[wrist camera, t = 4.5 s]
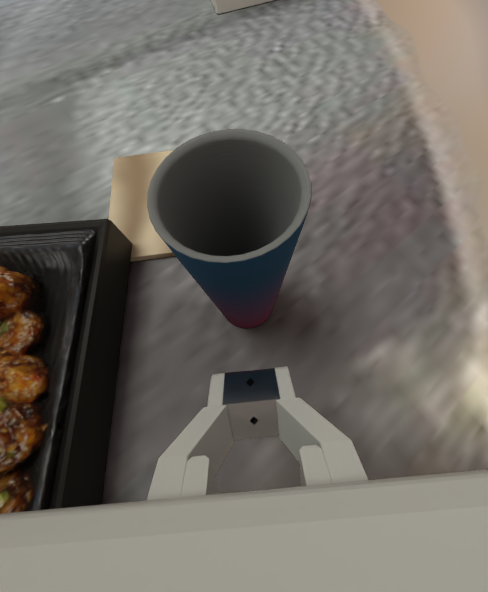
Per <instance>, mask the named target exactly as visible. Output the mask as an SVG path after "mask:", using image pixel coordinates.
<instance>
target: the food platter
mask: <svg viewBox="0 0 488 592" xmlns="http://www.w3.org/2000/svg"><path fill="white" fill-rule="evenodd" d="M131 252H132V243H131V242H130V240H129V239H128V238H127V237H126V236H125V235H124V234H123V233H122V232H121V231H120V230H119V229H118V228H117V226H116V225H115V224H114V223H113V222H112V221H111V220H108V219H100V220H85V221H71V222H57V223H43V224H28V225H14V226H0V514H3V513H14V512H25V511H36V510H47V509H58V508H68V507H79V506H90V505H101V503H102V495H103V486H104V478H105V469H106V461H107V453H108V444H109V436H110V428H111V419H112V411H113V402H114V394H115V386H116V377H117V369H118V361H119V352H120V344H121V335H122V327H123V319H124V310H125V302H126V294H127V285H128V277H129V268H130V260H131Z"/></svg>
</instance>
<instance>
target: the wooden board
mask: <svg viewBox="0 0 488 592" xmlns="http://www.w3.org/2000/svg"><path fill="white" fill-rule="evenodd" d="M172 151H173V150H171V151H164V152H156V153H149V154H141V155H134V156H126V157H119V158H114V169H113V179H112V190H111V200H110V211H109V220H111V221H112V222H113V223H114V224H115V225H116V226H117V228H118V229H119V230H120V231H121V232H122V233H123V234H124V235H125V236H126V237H127V238H128V239H129V240H130V242H131V243H132V252H131V260H130V262H132V261H140V260H148V259H156V258H164V257H172V256H175V254H174V253H173V252H172V251H171V250H170V248H169V247H168V246H167V245H166V243H165V242H164V241H163V240H162V238H161V237H160V236H159V235H158V234H157V232H156V231H155V229H154V227H153V225H152V223H151V221H150V218H149V213H148V209H147V193H148V189H149V185H150V181H151V179H152V177H153V175H154V173H155V171H156V169H157V168H158V166H159V165H160V164H161V163H162V161H163V160H164V159H165V158H166V157H167V156H168V155H169V154H170V153H171V152H172Z"/></svg>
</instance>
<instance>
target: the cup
mask: <svg viewBox="0 0 488 592" xmlns="http://www.w3.org/2000/svg"><path fill="white" fill-rule="evenodd" d="M310 202H311V181H310V177H309V173H308V170H307V169H306V167H305V165H304V163H303V161H302V159H301V158H300V157H299V156H298V155H297V154H296V152H295V151H294V150H293V149H291V148H290V147H289V146H288V145H286V144H285V143H284V142H282V141H280V140H278V139H276V138H274V137H272V136H270V135H267V134H264V133H261V132H258V131H251V130H245V129H227V130H219V131H213V132H210V133H206V134H203V135H200V136H198V137H195V138H193V139H191V140H189V141H187V142H185V143H184V144H182V145H180V146H179V147H177V148H176V149H175V150H173V151H172V152H171V153H170V154H169V155H168V156H167V157H166V158H165V159H164V160H163V161H162V163H161V164H160V165H159V166H158V168H157V169H156V171H155V173H154V175H153V177H152V179H151V181H150V185H149V189H148V193H147V209H148V213H149V218H150V221H151V223H152V225H153V227H154V229H155V231H156V232H157V234H158V235H159V236H160V237H161V238H162V240H163V241H164V242H165V243H166V245H167V246H168V247H169V248H170V250H171V251H172V252H173V253H174V254H175V256H176V257H177V258H178V259H179V261H180V262H181V263H182V264H183V266H184V267H185V268H186V269H187V270H188V272H189V273H190V274H191V275H192V277H193V278H194V279H195V280H196V282H197V283H198V284H199V285H200V287H201V288H202V289H203V290H204V291H205V293H206V294H207V295H208V296H209V298H210V299H211V300H212V301H213V303H214V304H215V305H216V306H217V307H218V309H219V310H220V311H221V312H222V314H223V315H224V316H225V317H226V318H227V320H228V321H229V322H231V323H232V324H233V325H235V326H238V327H241V328H253V327H256V326H258V325H260V324H262V323H263V322H265V321H266V320H267V319H268V317H269V316H270V314H271V312H272V310H273V307H274V304H275V301H276V299H277V296H278V293H279V290H280V288H281V285H282V282H283V279H284V276H285V274H286V271H287V268H288V265H289V263H290V260H291V257H292V254H293V252H294V249H295V246H296V243H297V241H298V238H299V235H300V232H301V230H302V227H303V224H304V221H305V218H306V216H307V213H308V209H309V206H310Z"/></svg>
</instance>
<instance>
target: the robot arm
mask: <svg viewBox="0 0 488 592" xmlns="http://www.w3.org/2000/svg"><path fill="white" fill-rule="evenodd" d="M277 436H279V437H280V439H281V440H282V441H283V443H284V444H285V445H286V446H287V448H288V449H289V450H290V451H291V453H292V454H293V455H294V457H295V458H296V459H297V460H298V462H299V463H300V480H301V486H299V487H288V488H278V489H267V490H256V491H244V492H233V493H222V494H219V493H218V490H217V486H216V482H215V479H214V478H215V476H216V474H217V472H218V470H219V469H220V467H221V465H222V463H223V461H224V460H225V458H226V456H227V454H228V452H229V450H230V449H231V447H232V445H233V443H234V441H236V440H244V439H252V438H256V437H257V438H262V437H277ZM0 592H488V469H484V470H473V471H462V472H451V473H440V474H429V475H418V476H407V477H396V478H385V479H374V480H368V478H367V476H366V473H365V471H364V469H363V466H362V464H361V462H360V459H359V457H358V455H357V452H356V450H355V448H354V445H353V443H352V441H351V440H350V439H349V438H348V437H347V436H345V435H344V434H343V433H342V432H341V431H339V430H338V429H337V428H336V427H335V426H333V425H332V424H331V423H330V422H329V421H327V420H326V419H325V418H324V417H323V416H321V415H320V414H319V413H318V412H317V411H315V410H314V409H313V408H312V407H311V406H309V405H308V404H307V403H306V402H305V401H303V400H302V399H301V398H296V396H295V392H294V388H293V385H292V381H291V377H290V373H289V369H288V367H287V366H285V367H277V368H270V369H262V370H253V371H242V372H230V373H220V374H213V375H212V377H211V383H210V390H209V397H208V405H207V407H203V408H202V410H201V411H200V412H199V413H198V414H197V415H196V416H195V418H194V419H193V420H192V421H191V422H190V423H189V424H188V425H187V427H186V428H185V429H184V430H183V431H182V432H181V433H180V435H179V436H178V437H177V438H176V439H175V440H174V441H173V443H172V444H171V445H170V446H169V447H168V448H167V449H166V451H165V452H164V453H163V454H162V455H161V456H160V457H159V459H158V462H157V466H156V469H155V473H154V476H153V480H152V483H151V486H150V490H149V493H148V497H147V500H145V501H134V502H123V503H112V504H101V505H90V506H79V507H68V508H58V509H47V510H36V511H25V512H14V513H3V514H0Z"/></svg>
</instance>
